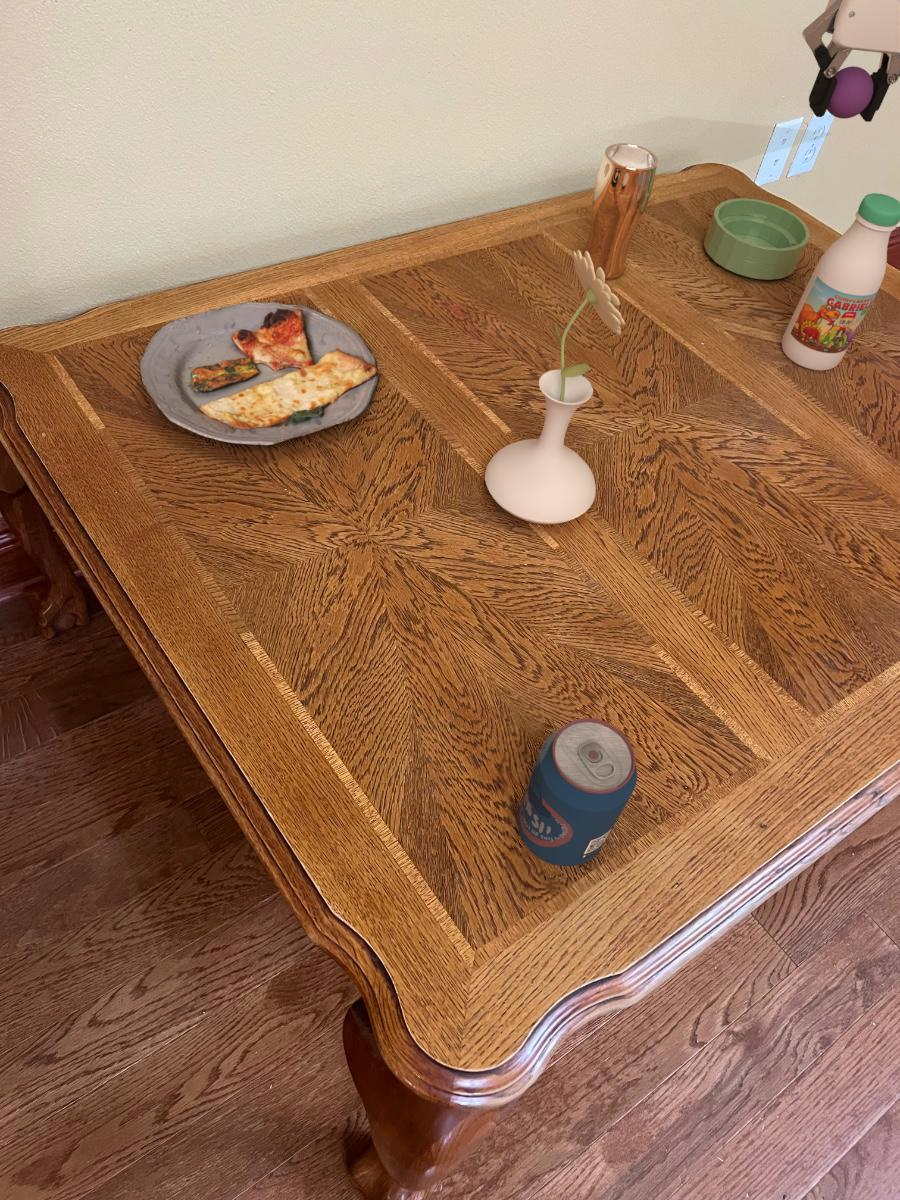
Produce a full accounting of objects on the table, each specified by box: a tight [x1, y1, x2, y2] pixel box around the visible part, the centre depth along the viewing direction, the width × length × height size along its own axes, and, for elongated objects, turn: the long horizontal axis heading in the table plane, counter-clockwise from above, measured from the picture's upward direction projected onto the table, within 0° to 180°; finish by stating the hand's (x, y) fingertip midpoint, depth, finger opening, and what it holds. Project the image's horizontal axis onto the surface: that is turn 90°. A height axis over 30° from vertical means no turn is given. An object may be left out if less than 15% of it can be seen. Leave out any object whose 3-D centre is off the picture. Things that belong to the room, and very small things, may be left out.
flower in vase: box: [484, 249, 626, 525], centre depth 87 cm, size 13×11×25 cm
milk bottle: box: [781, 192, 900, 371], centre depth 111 cm, size 8×8×20 cm
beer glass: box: [581, 142, 659, 281], centre depth 120 cm, size 7×7×15 cm
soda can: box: [516, 717, 638, 867], centre depth 68 cm, size 7×7×12 cm
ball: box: [826, 65, 873, 120], centre depth 102 cm, size 5×5×5 cm
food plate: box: [139, 301, 381, 446], centre depth 101 cm, size 25×23×4 cm
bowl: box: [703, 197, 811, 281], centre depth 130 cm, size 13×13×5 cm
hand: (840, 112), depth 104 cm, fingers closed on ball, 4 cm apart
